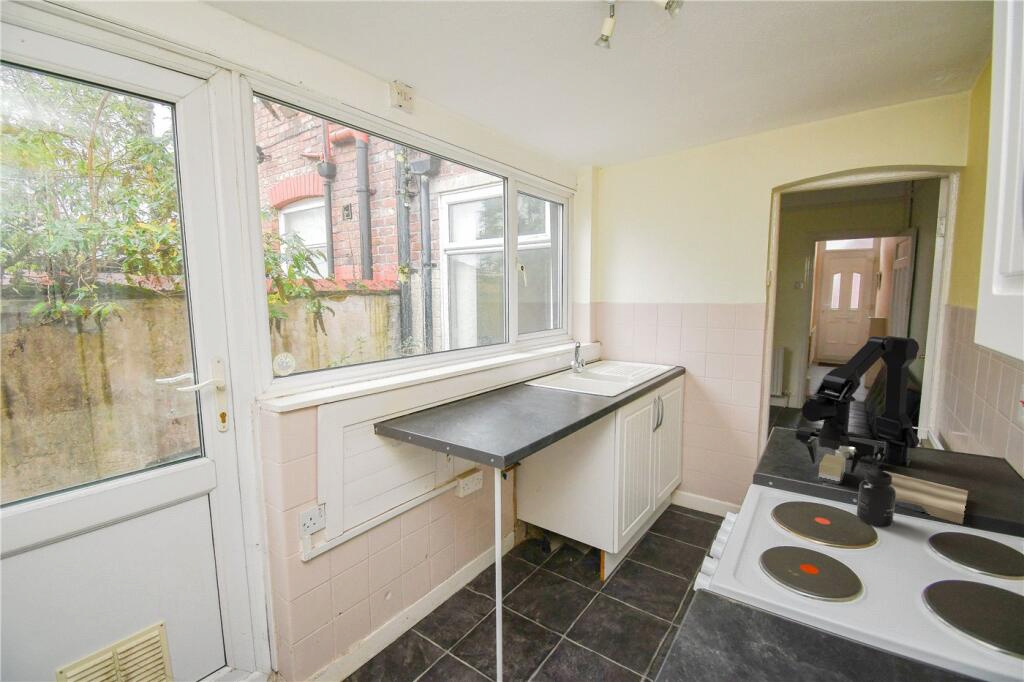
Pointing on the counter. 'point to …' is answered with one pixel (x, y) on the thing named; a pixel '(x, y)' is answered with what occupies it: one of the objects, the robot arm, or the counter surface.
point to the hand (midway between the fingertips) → (832, 467)
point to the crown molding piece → (931, 497)
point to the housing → (832, 467)
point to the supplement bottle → (876, 499)
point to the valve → (845, 451)
